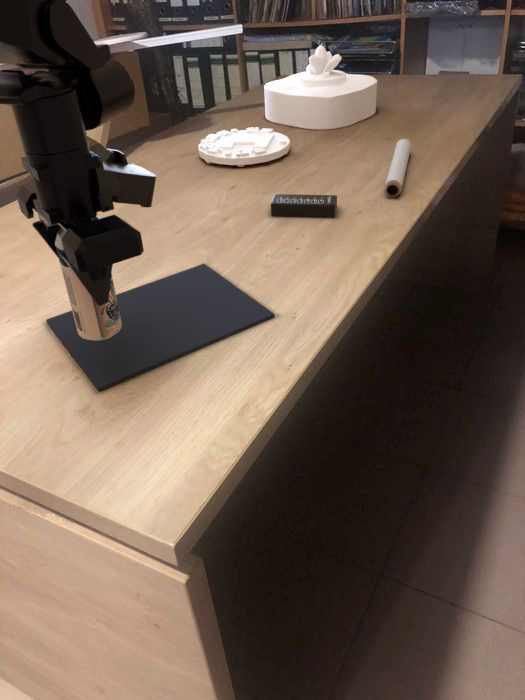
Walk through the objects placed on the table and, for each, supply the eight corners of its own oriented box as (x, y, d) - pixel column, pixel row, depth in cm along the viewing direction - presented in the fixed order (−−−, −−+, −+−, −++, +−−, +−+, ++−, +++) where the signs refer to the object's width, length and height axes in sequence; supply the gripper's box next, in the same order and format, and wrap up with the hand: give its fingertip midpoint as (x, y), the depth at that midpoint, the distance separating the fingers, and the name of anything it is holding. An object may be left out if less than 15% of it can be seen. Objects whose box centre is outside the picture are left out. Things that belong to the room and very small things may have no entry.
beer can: (117, 343, 64) (94, 240, 57) (73, 344, 64) (45, 241, 57) (126, 319, 68) (107, 220, 61) (85, 320, 68) (61, 221, 61)
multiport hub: (275, 206, 106) (274, 193, 104) (337, 207, 104) (337, 194, 102) (270, 216, 102) (270, 203, 101) (334, 218, 100) (335, 205, 99)
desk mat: (98, 391, 66) (97, 388, 66) (46, 322, 78) (45, 319, 78) (274, 317, 76) (274, 313, 76) (204, 266, 89) (204, 263, 88)
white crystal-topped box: (388, 108, 154) (393, 39, 144) (330, 133, 139) (331, 58, 130) (312, 97, 168) (311, 33, 158) (252, 118, 153) (247, 49, 144)
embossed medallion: (258, 174, 119) (257, 159, 118) (181, 161, 128) (179, 148, 126) (305, 145, 133) (305, 131, 131) (232, 136, 142) (231, 123, 140)
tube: (400, 199, 105) (410, 153, 124) (401, 182, 103) (411, 138, 123) (383, 198, 106) (395, 153, 125) (384, 181, 104) (396, 138, 123)
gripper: (183, 149, 51) (203, 304, 60) (100, 110, 64) (127, 242, 73) (57, 180, 46) (99, 344, 55) (-5, 131, 59) (38, 270, 68)
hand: (93, 294), depth 63 cm, fingers closed on beer can, 5 cm apart
